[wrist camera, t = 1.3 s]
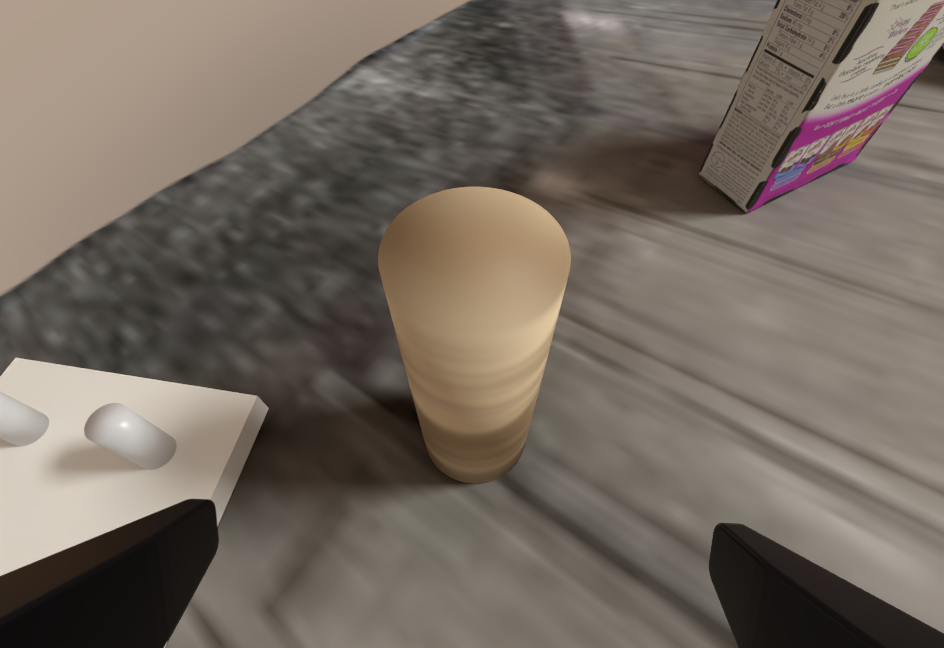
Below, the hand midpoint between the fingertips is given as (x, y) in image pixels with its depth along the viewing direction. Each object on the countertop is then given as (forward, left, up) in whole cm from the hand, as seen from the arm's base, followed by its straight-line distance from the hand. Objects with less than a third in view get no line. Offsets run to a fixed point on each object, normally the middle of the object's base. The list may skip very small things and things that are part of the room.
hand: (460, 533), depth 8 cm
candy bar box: (+30, -17, -13) cm, 37 cm away
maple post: (+7, +1, -13) cm, 15 cm away
